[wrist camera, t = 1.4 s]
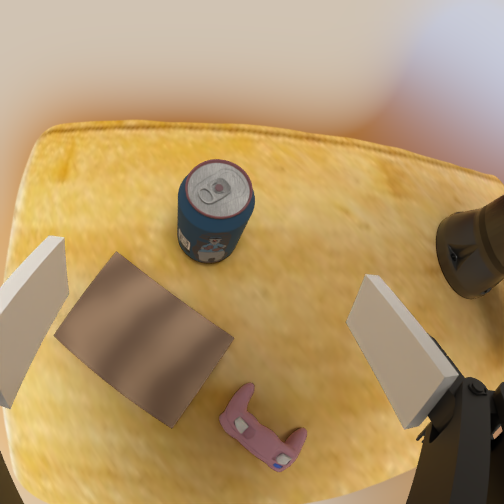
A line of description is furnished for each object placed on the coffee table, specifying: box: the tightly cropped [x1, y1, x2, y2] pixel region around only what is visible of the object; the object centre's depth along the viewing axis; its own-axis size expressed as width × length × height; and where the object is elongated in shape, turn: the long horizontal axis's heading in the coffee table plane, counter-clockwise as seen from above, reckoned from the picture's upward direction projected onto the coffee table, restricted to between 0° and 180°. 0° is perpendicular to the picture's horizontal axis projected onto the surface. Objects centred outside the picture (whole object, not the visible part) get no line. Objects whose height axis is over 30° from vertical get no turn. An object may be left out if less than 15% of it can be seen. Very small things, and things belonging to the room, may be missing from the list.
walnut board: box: [54, 251, 234, 428], centre depth 31 cm, size 16×12×2 cm
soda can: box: [178, 159, 255, 263], centre depth 32 cm, size 7×7×12 cm
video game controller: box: [219, 383, 307, 472], centre depth 29 cm, size 10×5×7 cm, turn 46°
